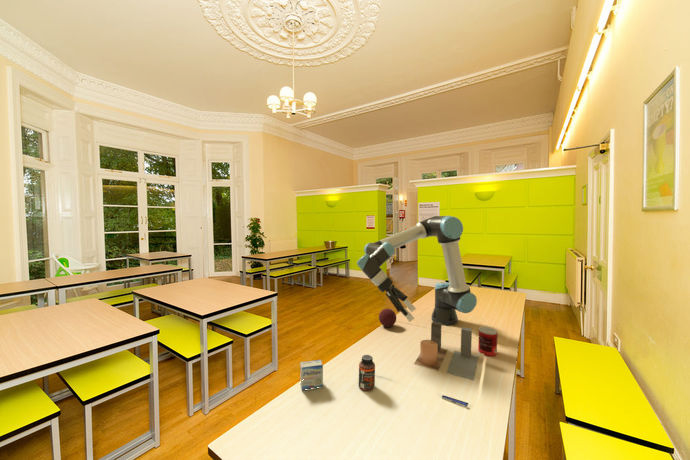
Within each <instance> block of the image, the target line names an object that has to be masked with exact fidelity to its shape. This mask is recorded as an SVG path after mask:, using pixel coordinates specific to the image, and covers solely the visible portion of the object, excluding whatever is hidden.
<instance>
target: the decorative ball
mask: <svg viewBox="0 0 690 460" xmlns="http://www.w3.org/2000/svg"><path fill="white" fill-rule="evenodd" d="M378 320H379V323H380V324H381V325H382V326H384V327H386V328H389V327H393V326H394V325H395V324H396V322H397V314H396V312H395V311H394V310H392V309H391V308H384V309H382V310H381V311H380V312H379V314H378Z"/></svg>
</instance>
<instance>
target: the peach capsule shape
mask: <svg viewBox="0 0 690 460" xmlns="http://www.w3.org/2000/svg"><path fill="white" fill-rule="evenodd" d="M419 349H420V353H419V355H420V362H421V363H422V364H424V365H426V366H435V365H437V355H438V344H437V343H436V342H435V341H432V340H431V339H423V340H420V348H419Z"/></svg>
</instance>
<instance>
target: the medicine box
mask: <svg viewBox="0 0 690 460" xmlns="http://www.w3.org/2000/svg"><path fill="white" fill-rule="evenodd" d="M299 363H300V364H299V367H300V371H299V372H300V374H299V377H300V378H299V381H301V383H300V390H301V389H302V390H305V389H311V388H316V389H318V388H317V387H322V388H323V387H324V365H323V362H322V359H317V360H309V361H301V362H299ZM303 379H304V380H303ZM302 380H303V381H302ZM302 390H301V391H302ZM311 390H312V389H311ZM305 391H306V390H305Z"/></svg>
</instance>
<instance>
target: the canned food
mask: <svg viewBox="0 0 690 460" xmlns="http://www.w3.org/2000/svg"><path fill="white" fill-rule="evenodd" d="M477 347H478V352H479V353H480V354H483V355H484V356H486V357H490V358H491V357H495V356H497V353H498V351H497V349H498V330H497V329H495V328H493V327H491V326H480V327H478V345H477Z"/></svg>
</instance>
